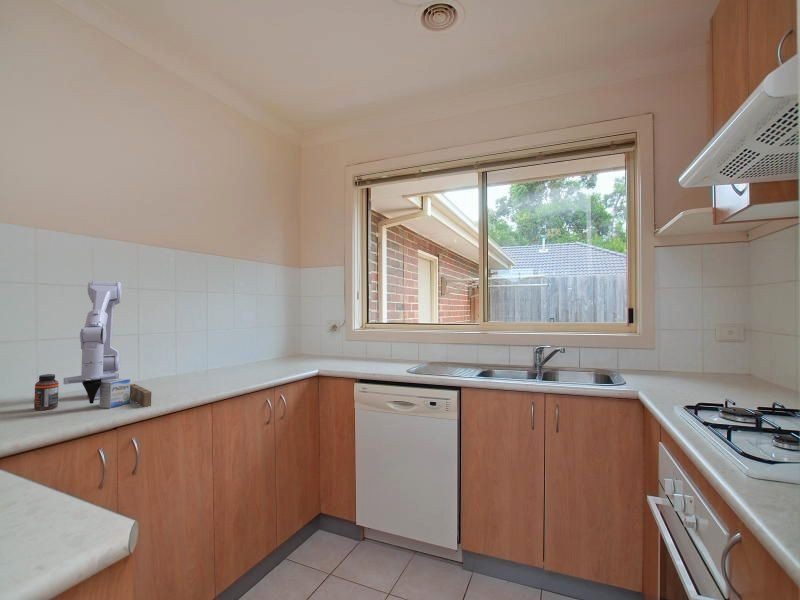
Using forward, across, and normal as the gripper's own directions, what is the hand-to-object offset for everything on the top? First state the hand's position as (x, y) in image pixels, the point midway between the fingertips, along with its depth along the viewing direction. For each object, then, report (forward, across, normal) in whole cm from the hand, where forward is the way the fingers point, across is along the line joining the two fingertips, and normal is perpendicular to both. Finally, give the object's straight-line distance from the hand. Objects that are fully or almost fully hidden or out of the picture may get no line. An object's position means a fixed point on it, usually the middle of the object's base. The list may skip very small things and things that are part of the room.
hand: (91, 403), depth 132 cm
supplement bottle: (+2, -10, +11) cm, 15 cm away
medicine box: (+2, +7, 0) cm, 7 cm away
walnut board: (+2, +14, 0) cm, 14 cm away
